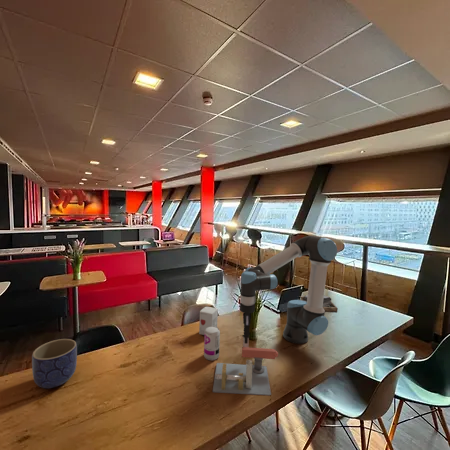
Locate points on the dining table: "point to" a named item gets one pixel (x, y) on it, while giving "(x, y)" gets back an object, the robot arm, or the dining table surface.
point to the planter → (54, 363)
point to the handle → (259, 353)
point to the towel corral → (332, 308)
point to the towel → (325, 301)
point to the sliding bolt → (236, 377)
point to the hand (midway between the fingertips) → (245, 347)
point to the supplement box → (207, 318)
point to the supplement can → (211, 343)
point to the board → (258, 382)
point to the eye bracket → (240, 383)
